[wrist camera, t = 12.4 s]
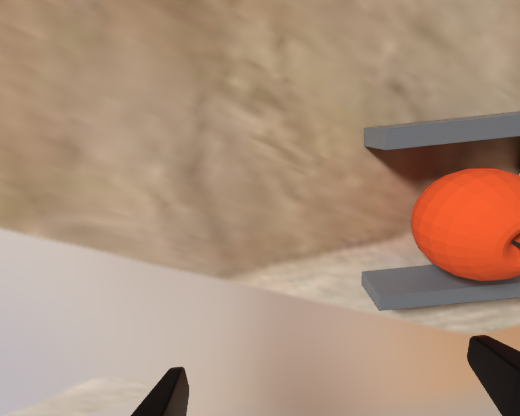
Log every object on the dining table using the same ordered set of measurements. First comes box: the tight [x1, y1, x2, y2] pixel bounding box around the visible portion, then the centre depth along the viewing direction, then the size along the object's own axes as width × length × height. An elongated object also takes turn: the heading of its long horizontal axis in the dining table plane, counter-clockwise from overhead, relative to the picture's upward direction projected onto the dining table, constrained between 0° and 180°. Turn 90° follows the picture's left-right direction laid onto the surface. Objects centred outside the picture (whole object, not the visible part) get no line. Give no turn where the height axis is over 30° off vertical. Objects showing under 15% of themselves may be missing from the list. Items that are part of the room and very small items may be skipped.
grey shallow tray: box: [362, 112, 520, 311], centre depth 18 cm, size 16×12×4 cm
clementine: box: [411, 168, 520, 281], centre depth 16 cm, size 8×7×7 cm
